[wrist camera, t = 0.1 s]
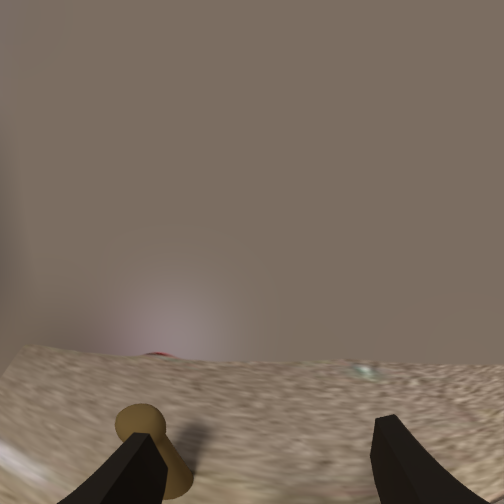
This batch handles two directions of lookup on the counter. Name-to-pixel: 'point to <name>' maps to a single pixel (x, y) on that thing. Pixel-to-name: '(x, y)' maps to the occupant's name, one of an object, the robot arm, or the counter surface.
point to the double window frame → (500, 502)
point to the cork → (153, 422)
